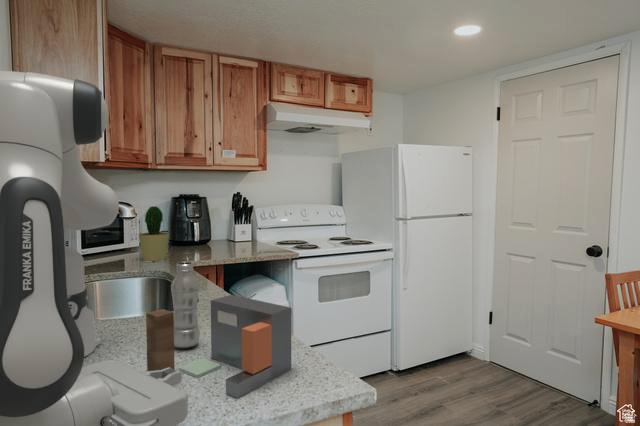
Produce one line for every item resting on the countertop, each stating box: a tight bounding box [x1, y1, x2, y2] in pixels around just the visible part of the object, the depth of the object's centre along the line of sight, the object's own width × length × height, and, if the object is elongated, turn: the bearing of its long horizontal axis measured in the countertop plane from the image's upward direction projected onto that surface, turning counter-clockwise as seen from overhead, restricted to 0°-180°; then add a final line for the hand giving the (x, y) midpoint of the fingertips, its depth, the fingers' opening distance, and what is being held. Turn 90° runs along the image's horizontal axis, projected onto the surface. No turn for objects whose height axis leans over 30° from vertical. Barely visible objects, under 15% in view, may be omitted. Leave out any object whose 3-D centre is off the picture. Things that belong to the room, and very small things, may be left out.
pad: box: [178, 357, 222, 379], centre depth 85 cm, size 6×6×1 cm
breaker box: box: [210, 294, 292, 399], centre depth 84 cm, size 18×15×13 cm
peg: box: [145, 308, 176, 371], centre depth 78 cm, size 4×4×14 cm
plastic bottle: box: [170, 261, 201, 349], centre depth 97 cm, size 6×7×20 cm
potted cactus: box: [138, 205, 170, 261], centre depth 221 cm, size 15×15×30 cm
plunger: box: [241, 322, 272, 374], centre depth 79 cm, size 3×5×8 cm, turn 144°
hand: (176, 374), depth 65 cm, fingers closed
